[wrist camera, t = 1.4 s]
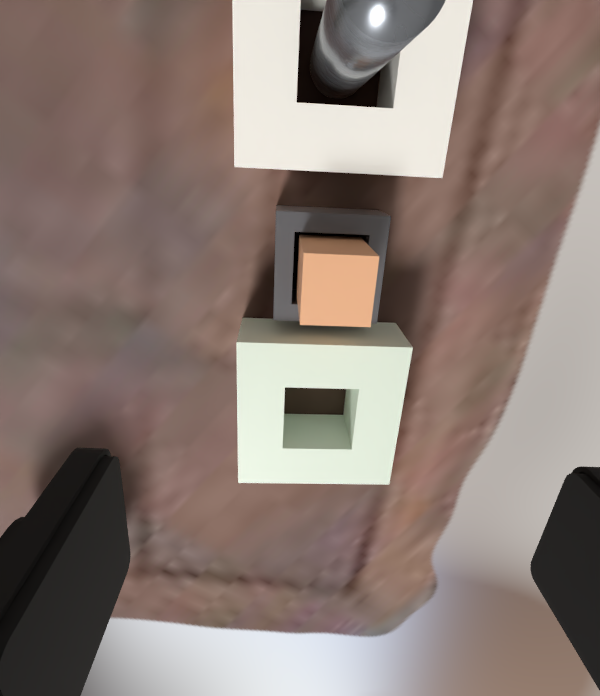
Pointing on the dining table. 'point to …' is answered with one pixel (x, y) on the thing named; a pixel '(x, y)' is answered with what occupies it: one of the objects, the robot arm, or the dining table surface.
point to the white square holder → (319, 429)
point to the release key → (336, 281)
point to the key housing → (322, 220)
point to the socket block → (340, 120)
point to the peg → (364, 40)
